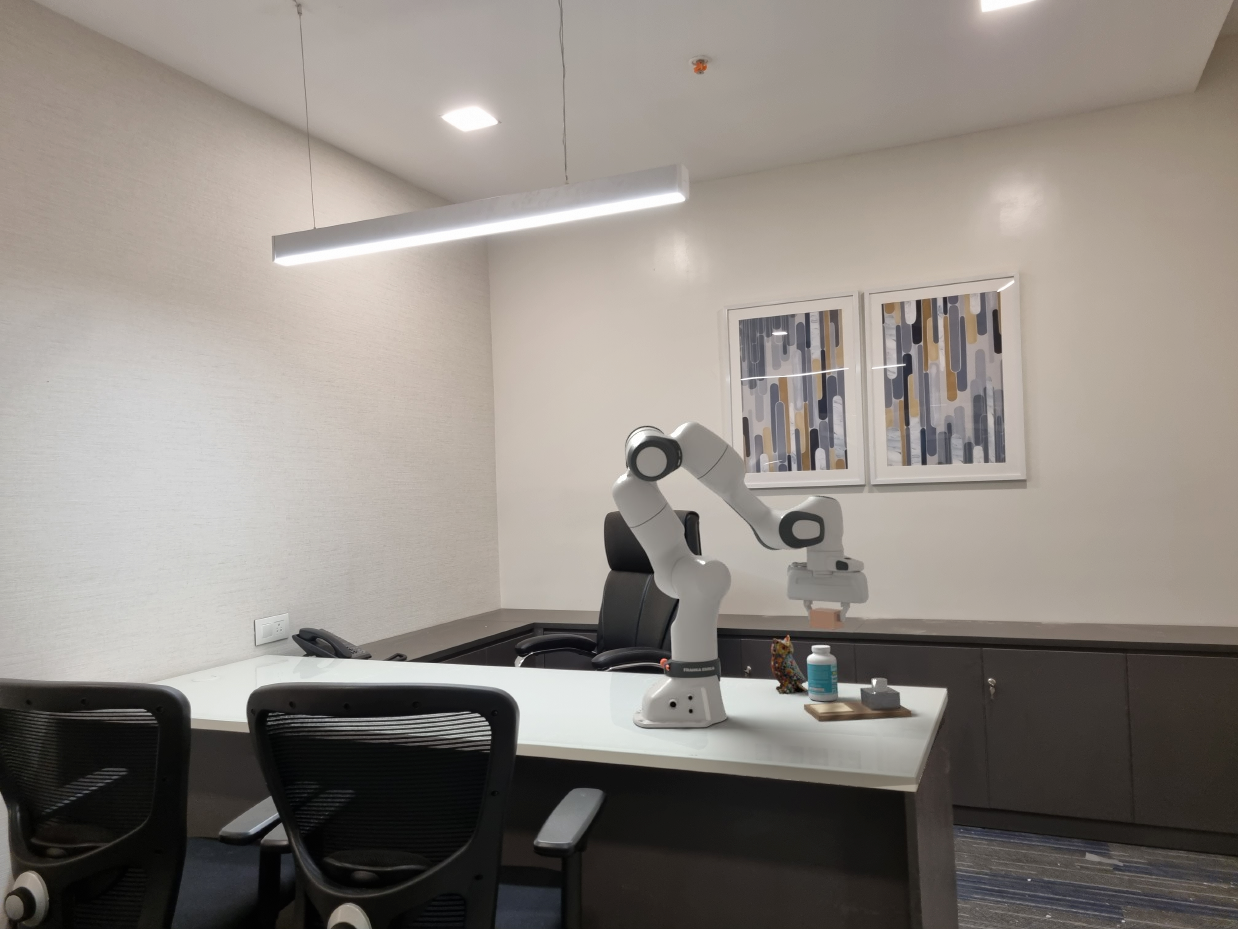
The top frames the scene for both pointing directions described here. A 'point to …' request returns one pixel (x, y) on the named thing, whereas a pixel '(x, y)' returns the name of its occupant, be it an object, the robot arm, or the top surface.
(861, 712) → the board
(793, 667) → the figurine
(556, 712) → the top surface
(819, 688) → the pill bottle
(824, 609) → the salmon pink block
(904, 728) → the top surface
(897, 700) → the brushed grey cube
